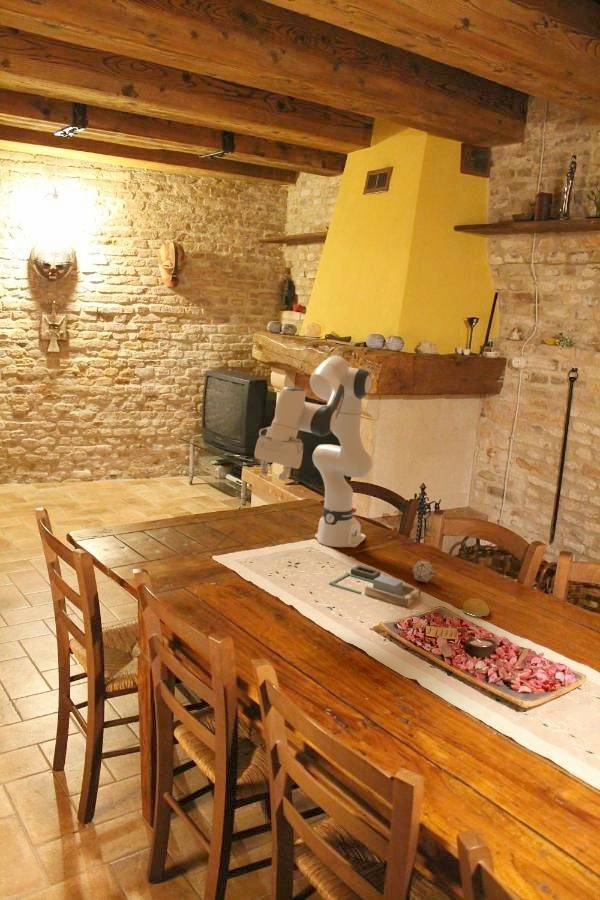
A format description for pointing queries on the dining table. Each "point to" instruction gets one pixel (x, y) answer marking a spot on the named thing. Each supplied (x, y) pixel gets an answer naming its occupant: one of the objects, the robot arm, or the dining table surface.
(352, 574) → the frame
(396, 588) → the block
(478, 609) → the bread roll
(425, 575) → the game die
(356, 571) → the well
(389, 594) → the beige c-shaped frame
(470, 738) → the dining table surface
